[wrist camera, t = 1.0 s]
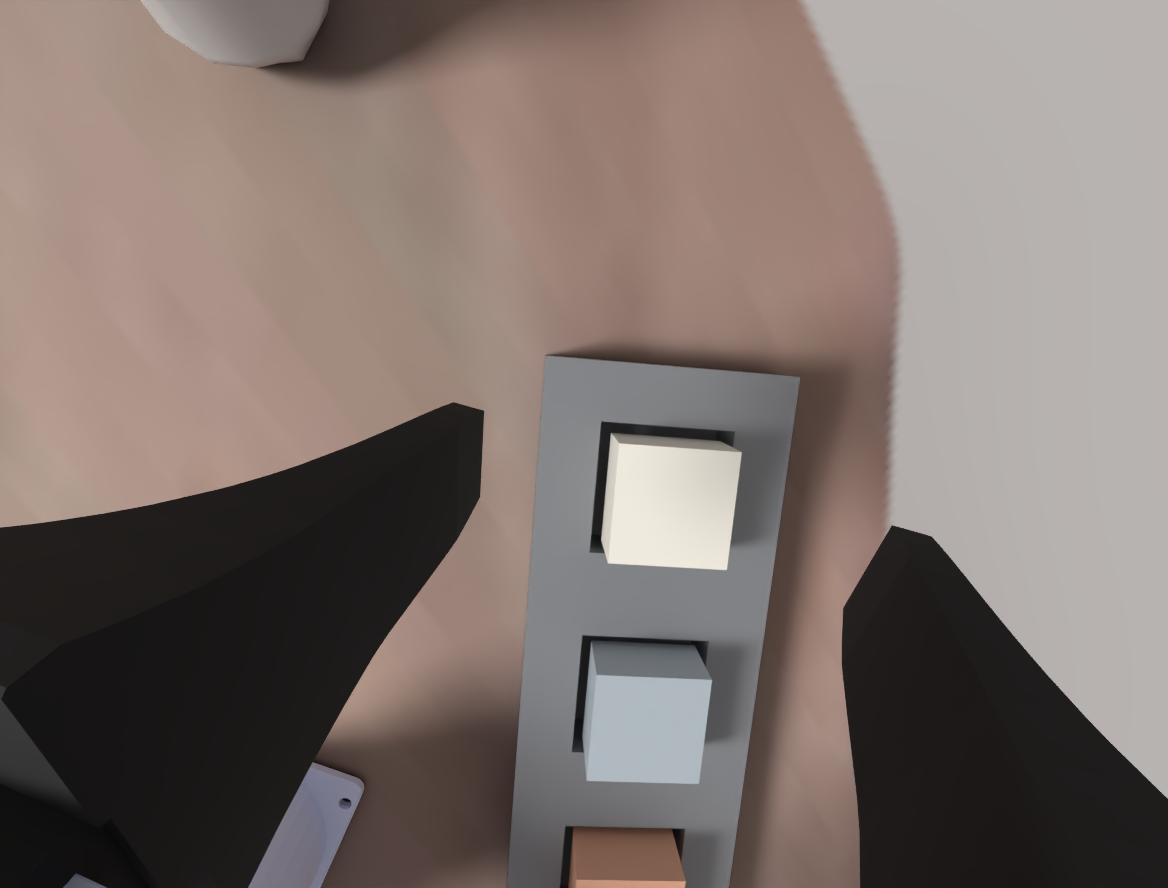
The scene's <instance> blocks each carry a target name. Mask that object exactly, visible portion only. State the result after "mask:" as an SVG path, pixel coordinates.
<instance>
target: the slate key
mask: <svg viewBox="0 0 1168 888" xmlns="http://www.w3.org/2000/svg"><path fill="white" fill-rule="evenodd" d="M711 684H712V679H711V677H710V675H709V673H708V671H707V669H706V667H705V665H704V663H703V661H702V659H701V657H700V655H699V653H698V651H697V649H696V647H695V645H678V644H656V643H635V642H613V641H592V640H591V648H590V659H589V670H588V680H587V691H586V702H585V713H584V724H583V735H582V738H583V748H584V758H585V769H586V779H587V781H608V782H644V783H680V784H699V779H700V771H701V763H702V755H703V747H704V740H705V732H706V724H707V716H708V708H709V700H710V692H711Z"/></svg>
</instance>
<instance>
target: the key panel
mask: <svg viewBox="0 0 1168 888" xmlns="http://www.w3.org/2000/svg"><path fill="white" fill-rule="evenodd" d="M799 383H800V377H795V376H786V375H777V374H767V373H755V372H743V371H731V370H719V369H707V368H695V367H683V366H671V365H659V364H648V363H636V362H624V361H612V360H600V359H588V358H576V357H564V356H552V355H545V369H544V382H543V396H542V410H541V424H540V437H539V451H538V465H537V478H536V492H535V506H534V520H533V533H532V547H531V561H530V574H529V588H528V602H527V615H526V629H525V643H524V657H523V670H522V684H521V698H520V711H519V725H518V739H517V753H516V766H515V780H514V794H513V807H512V821H511V835H510V849H509V862H508V876H507V888H568V880H569V869H570V858H571V847H572V837H573V827H619V828H665V829H672V831H673V835H674V839H675V843H676V847H677V850H678V854H679V858H680V862H681V865H682V869H683V873H684V877H685V881H686V883H685V888H729V883H730V875H731V868H732V861H733V854H734V847H735V840H736V833H737V825H738V818H739V811H740V804H741V797H742V790H743V783H744V776H745V768H746V761H747V754H748V747H749V740H750V733H751V726H752V718H753V711H754V704H755V697H756V690H757V683H758V676H759V668H760V661H761V654H762V647H763V640H764V633H765V626H766V618H767V611H768V604H769V597H770V590H771V583H772V576H773V568H774V561H775V554H776V547H777V540H778V533H779V526H780V519H781V511H782V504H783V497H784V490H785V483H786V476H787V469H788V461H789V454H790V447H791V440H792V433H793V426H794V419H795V411H796V404H797V397H798V390H799ZM611 433H621V434H634V435H648V436H661V437H675V438H688V439H702V440H715V441H721V442H723V443H725V444H727V445H729V446H731V447H733V448H734V449H736V450H738V451H740V452H742V455H741V463H740V471H739V479H738V486H737V494H736V502H735V510H734V518H733V526H732V534H731V541H730V549H729V557H728V565H727V570H715V569H698V568H680V567H663V566H645V565H628V564H610V563H608V562H607V558H606V555H605V551H604V548H603V545H602V541H601V536H602V525H603V514H604V503H605V492H606V482H607V471H608V460H609V449H610V438H611ZM591 640H592V641H613V642H635V643H656V644H678V645H695V647H696V649H697V651H698V653H699V655H700V657H701V659H702V661H703V663H704V665H705V667H706V669H707V671H708V673H709V675H710V677H711V679H712V684H711V692H710V700H709V708H708V716H707V724H706V732H705V740H704V747H703V755H702V763H701V771H700V779H699V784H680V783H644V782H608V781H587V779H586V769H585V758H584V748H583V738H582V735H583V724H584V713H585V702H586V691H587V680H588V670H589V659H590V648H591Z"/></svg>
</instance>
